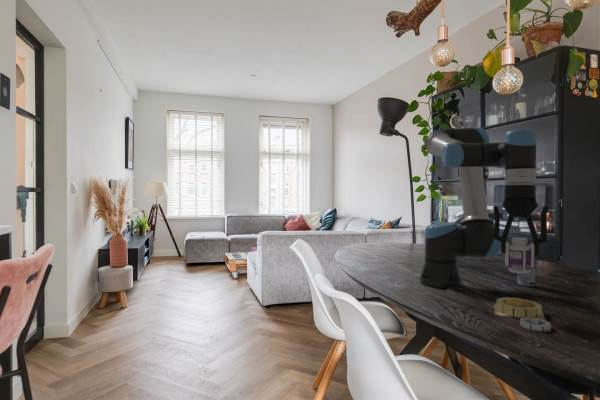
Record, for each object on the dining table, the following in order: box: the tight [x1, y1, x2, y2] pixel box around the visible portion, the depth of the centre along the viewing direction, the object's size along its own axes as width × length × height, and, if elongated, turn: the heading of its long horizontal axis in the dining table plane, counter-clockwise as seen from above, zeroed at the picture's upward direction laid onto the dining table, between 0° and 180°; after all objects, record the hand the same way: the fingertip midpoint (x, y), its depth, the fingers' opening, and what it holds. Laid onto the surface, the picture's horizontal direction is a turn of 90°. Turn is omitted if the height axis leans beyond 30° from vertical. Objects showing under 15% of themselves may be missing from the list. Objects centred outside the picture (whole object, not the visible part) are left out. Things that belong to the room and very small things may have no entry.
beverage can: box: [517, 244, 536, 287], centre depth 134 cm, size 6×6×15 cm
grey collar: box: [519, 317, 552, 333], centre depth 90 cm, size 6×6×2 cm
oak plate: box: [493, 303, 547, 321], centre depth 102 cm, size 12×11×1 cm
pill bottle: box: [508, 237, 531, 274], centre depth 101 cm, size 5×5×10 cm
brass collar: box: [495, 297, 543, 319], centre depth 102 cm, size 11×11×2 cm
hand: (519, 265), depth 101 cm, fingers closed on pill bottle, 5 cm apart
